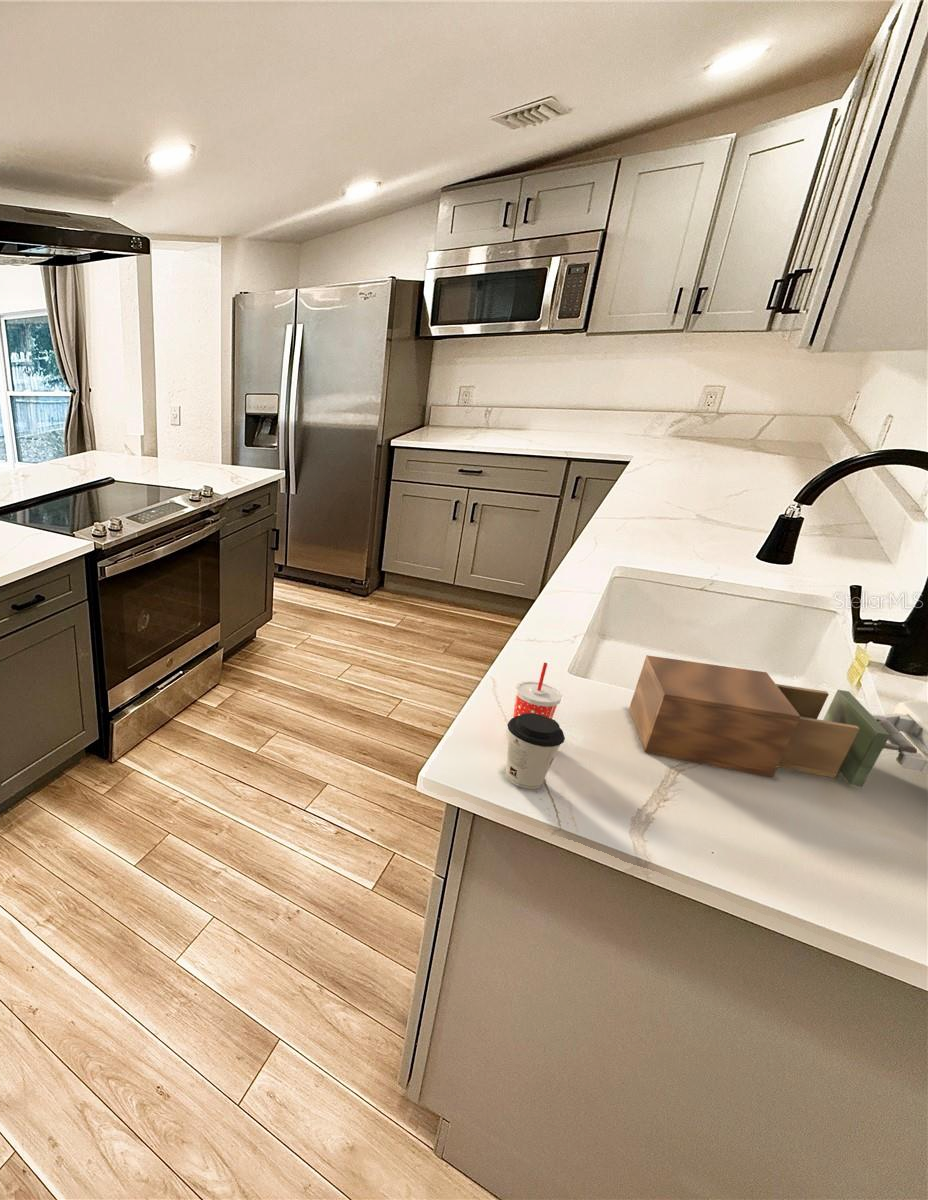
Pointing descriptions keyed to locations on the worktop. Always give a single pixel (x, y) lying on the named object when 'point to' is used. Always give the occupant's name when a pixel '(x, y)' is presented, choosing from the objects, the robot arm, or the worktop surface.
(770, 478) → the worktop surface
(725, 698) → the cabinet
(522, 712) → the beverage cup
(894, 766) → the worktop surface
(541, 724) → the coffee cup
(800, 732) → the drawer
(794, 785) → the worktop surface
